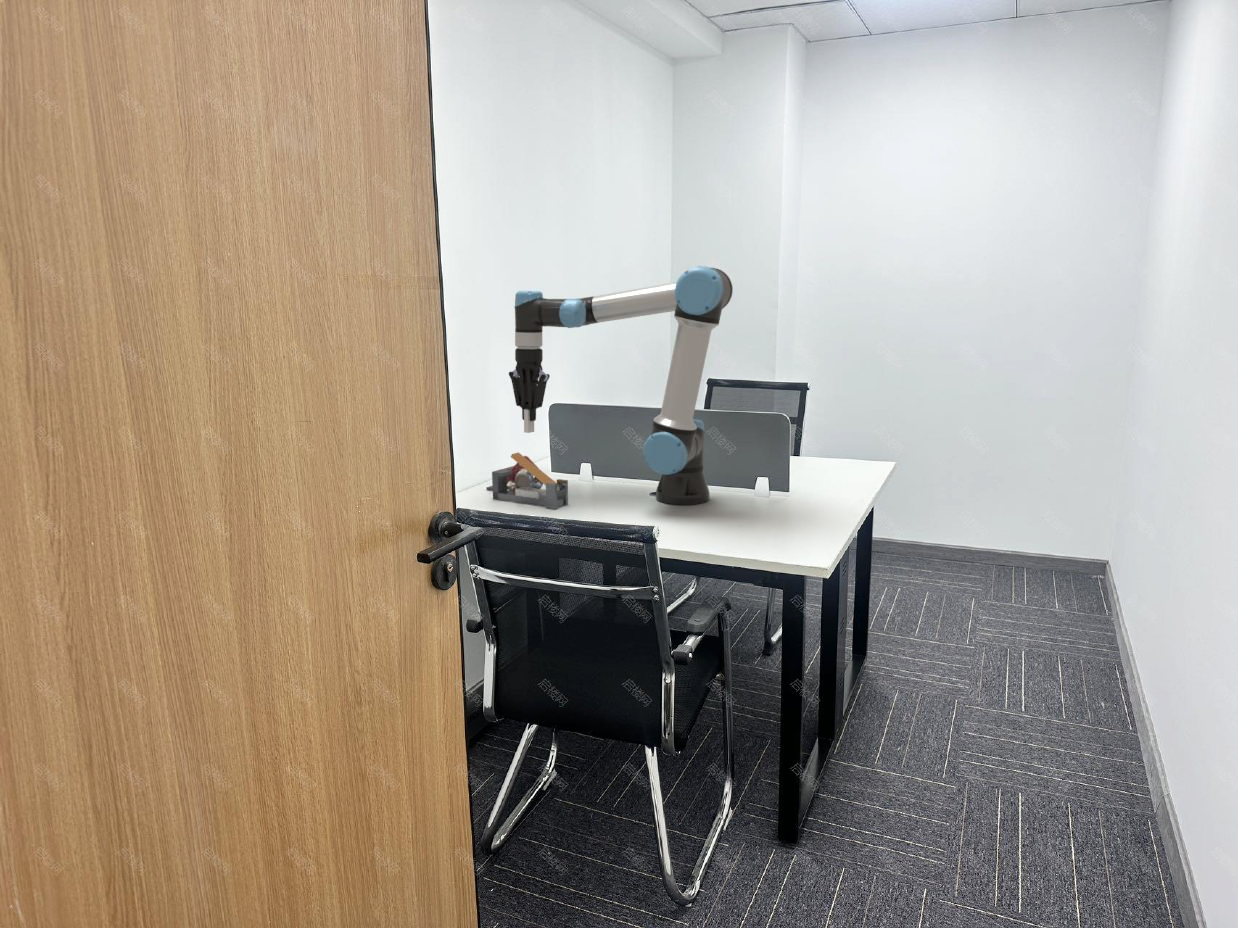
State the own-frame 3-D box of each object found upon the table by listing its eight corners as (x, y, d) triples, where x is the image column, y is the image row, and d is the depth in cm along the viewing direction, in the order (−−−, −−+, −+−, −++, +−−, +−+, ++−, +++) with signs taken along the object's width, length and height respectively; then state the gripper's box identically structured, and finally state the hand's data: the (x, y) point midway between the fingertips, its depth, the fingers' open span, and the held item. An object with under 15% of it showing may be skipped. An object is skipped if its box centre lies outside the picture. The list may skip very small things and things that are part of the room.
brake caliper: (549, 480, 254) (543, 453, 245) (544, 508, 247) (537, 482, 238) (512, 479, 256) (505, 452, 247) (506, 507, 248) (498, 481, 239)
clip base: (568, 504, 234) (567, 476, 232) (555, 509, 228) (554, 480, 227) (504, 495, 245) (503, 468, 243) (490, 499, 240) (489, 472, 238)
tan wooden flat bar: (561, 491, 232) (563, 487, 232) (554, 493, 229) (556, 489, 229) (517, 455, 238) (518, 451, 237) (510, 457, 235) (512, 453, 235)
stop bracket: (524, 484, 259) (523, 465, 258) (499, 492, 249) (498, 472, 248) (511, 482, 262) (510, 463, 261) (486, 490, 252) (485, 470, 251)
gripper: (555, 348, 232) (555, 432, 237) (519, 345, 239) (519, 427, 244) (539, 349, 226) (539, 436, 230) (501, 347, 233) (502, 431, 237)
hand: (529, 431), depth 237 cm, fingers closed
